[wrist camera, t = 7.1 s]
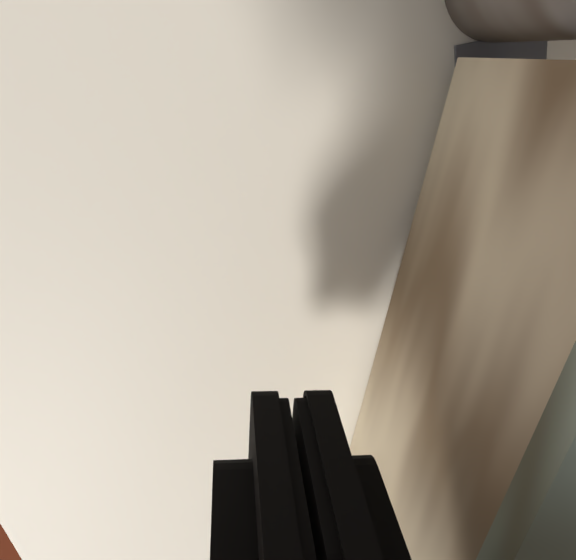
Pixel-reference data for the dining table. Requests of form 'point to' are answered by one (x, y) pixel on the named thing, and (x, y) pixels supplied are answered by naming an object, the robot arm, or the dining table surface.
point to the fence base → (514, 19)
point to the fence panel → (485, 327)
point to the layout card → (196, 240)
